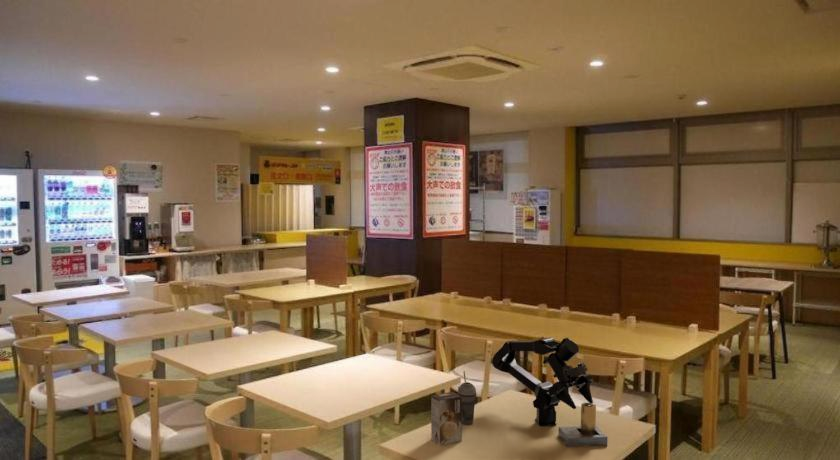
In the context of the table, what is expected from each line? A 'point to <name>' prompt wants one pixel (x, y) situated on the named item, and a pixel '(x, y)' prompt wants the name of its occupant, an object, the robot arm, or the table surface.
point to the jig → (581, 437)
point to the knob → (588, 418)
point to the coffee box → (446, 418)
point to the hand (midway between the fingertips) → (583, 406)
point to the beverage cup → (467, 401)
